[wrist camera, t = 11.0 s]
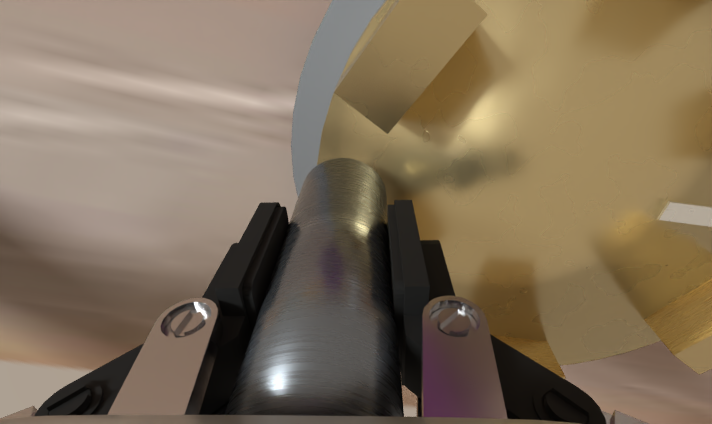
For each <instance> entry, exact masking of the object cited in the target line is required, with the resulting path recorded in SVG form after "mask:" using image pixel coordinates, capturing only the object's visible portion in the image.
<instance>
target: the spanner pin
mask: <svg viewBox="0 0 712 424" xmlns="http://www.w3.org/2000/svg"><path fill="white" fill-rule="evenodd" d="M224 415H292V416H384V417H404V413H403V400H402V387H401V374H400V362H399V349H398V336H397V327H396V322H395V319H394V309H393V295H392V281H391V268H390V254H389V240H388V226H387V196H386V188H385V185H384V183H383V181H382V179H381V177H380V176H379V174H378V173H377V172H376V171H375V170H374V169H373V168H372V167H370V166H369V165H367V164H365V163H363V162H361V161H359V160H356V159H351V158H334V159H330V160H326V161H324V162H322V163H320V164H318V165H317V166H316V167H314V168H313V169H312V170H311V171H310V172H309V173H308V175H307V176H306V178H305V180H304V183H303V185H302V188H301V191H300V194H299V197H298V200H297V203H296V206H295V209H294V212H293V215H292V218H291V221H290V224H289V226H288V229H287V232H286V235H285V238H284V241H283V244H282V247H281V250H280V253H279V256H278V259H277V262H276V265H275V268H274V270H273V273H272V276H271V279H270V282H269V285H268V288H267V291H266V294H265V297H264V300H263V303H262V306H261V309H260V312H259V314H258V317H257V320H256V323H255V326H254V329H253V332H252V335H251V338H250V341H249V344H248V347H247V350H246V353H245V356H244V358H243V361H242V364H241V367H240V370H239V373H238V376H237V379H236V382H235V385H234V388H233V391H232V394H231V397H230V400H229V402H228V405H227V408H226V411H225V414H224Z"/></svg>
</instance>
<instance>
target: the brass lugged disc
mask: <svg viewBox="0 0 712 424" xmlns="http://www.w3.org/2000/svg"><path fill="white" fill-rule="evenodd" d="M334 158H351V159H356V160H359V161H361V162H363V163H365V164H367V165H369V166H370V167H372V168H373V169H374V170H375V171H376V172H377V173H378V174H379V176H380V177H381V179H382V181H383V183H384V185H385V188H386V196H387V206H388V205H394V200H412V202H413V207H414V212H415V217H416V222H417V227H418V231H419V236H420V240H439V241H440V243H441V247H442V250H443V254H444V257H445V261H446V264H447V268H448V271H449V275H450V278H451V282H452V285H453V289H454V293H455V296H457V297H462V298H465V299H467V300H470V301H471V302H473V303H474V304H476V305H477V306H479V308H480V309H481V310H482V311H483V312H484V314H485V316H486V319H487V322H488V327H489V332H490V334H491V335H493V336H494V337H496V338H497V339H499V340H501V341H502V342H504V343H506V344H507V345H509V346H511V347H512V348H514V349H516V350H517V351H519V352H520V353H522V354H524V355H525V356H527V357H529V358H530V359H532V360H534V361H535V362H537V363H539V364H540V365H542V366H544V367H545V368H547V369H548V370H550V371H552V372H553V373H555V374H557V375H558V376H560V377H562V378H563V379H565V378H566V377H565V375H564V373H563V371H562V369H561V367H560V365H569V364H575V363H581V362H587V361H593V360H598V359H602V358H606V357H610V356H614V355H618V354H622V353H626V352H629V351H632V350H635V349H638V348H641V347H644V346H647V345H650V344H653V343H656V342H658V341H662V342H663V343H664V344H665V345H666V347H667V348H668V349H669V350H670V351H671V352H672V354H673V355H674V356H676V357H677V358H678V359H679V360H681V361H682V362H683V363H685V364H686V365H687V366H688V367H690V368H691V369H692V370H694V371H695V372H696V373H698V374H699V375H700V374H702V373H704V372H706V371H708V370H710V369H712V0H385V1H384V3H383V4H382V5H381V7H380V8H379V9H378V10H377V12H376V13H375V14H374V15H373V17H372V18H371V20H370V21H369V23H368V25H367V26H366V28H365V30H364V31H363V33H362V35H361V36H360V38H359V40H358V41H357V43H356V44H355V46H354V48H353V49H352V52H351V54H350V56H349V58H348V61H347V63H346V65H345V67H344V70H343V72H342V74H341V76H340V79H339V81H338V83H337V86H336V88H335V91H334V93H333V96H332V99H331V103H330V106H329V109H328V113H327V116H326V120H325V123H324V126H323V130H322V135H321V141H320V148H319V155H318V161H317V165H318V164H320V163H322V162H324V161H326V160H330V159H334Z"/></svg>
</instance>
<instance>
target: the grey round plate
mask: <svg viewBox="0 0 712 424" xmlns="http://www.w3.org/2000/svg"><path fill="white" fill-rule="evenodd" d="M384 1H385V0H333V1H332V2H331V4H330V6H329V8H328V10H327V12H326V14H325V16H324V19H323V21H322V23H321V25H320V27H319V29H318V31H317V33H316V35H315V37H314V39H313V41H312V44H311V47H310V50H309V53H308V56H307V59H306V62H305V65H304V68H303V71H302V74H301V77H300V81H299V86H298V91H297V96H296V101H295V106H294V111H293V124H292V141H291V150H292V163H293V176H294V181H295V186H296V190H297V195H298V197H299V194H300V191H301V188H302V185H303V183H304V180H305V178H306V176H307V175H308V173H309V172H310V171H311V170H312V169H313V168H314V167H316V166H317V161H318V155H319V148H320V141H321V135H322V130H323V126H324V123H325V120H326V116H327V113H328V109H329V106H330V103H331V99H332V96H333V93H334V91H335V88H336V86H337V83H338V81H339V79H340V76H341V74H342V72H343V70H344V67H345V65H346V63H347V61H348V58H349V56H350V54H351V52H352V49H353V48H354V46H355V44H356V43H357V41H358V40H359V38H360V36H361V35H362V33H363V31H364V30H365V28H366V26H367V25H368V23H369V21H370V20H371V18H372V17H373V15H374V14H375V13H376V12H377V10H378V9H379V8H380V7H381V5H382V4H383V3H384Z"/></svg>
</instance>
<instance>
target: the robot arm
mask: <svg viewBox="0 0 712 424" xmlns="http://www.w3.org/2000/svg"><path fill="white" fill-rule="evenodd" d="M288 226H289V222H288V216H287V210H286V207H280V204H279V203H278V202H277V203H260V204H259V206H258V208H257V210H256V212H255V214H254V215H253V217H252V219H251V221H250V223H249V225H248V227H247V228H246V230H245V232H244V234H243V236H242V238H241V240H240V241H239V243H234V244H233V245H232V246H231V247H230V249H229V251H228V253H227V254H226V256H225V258H224V260H223V261H222V263H221V265H220V267H219V269H218V270H217V272H216V274H215V276H214V278H213V279H212V281H211V283H210V285H209V286H208V288H207V290H206V292H205V294H204V295H203V297H202V298H191V299H186V300H183V301H181V302H178V303H176V304H174V305H172V306H171V307H169V308H168V309H166V310H165V311H164V312H163V313H162V314H161V315H160V316H159V317H158V319H157V320H156V322H155V324H154V325H153V327H152V329H151V331H150V333H149V335H148V337H147V339H146V341H145V343H144V344H142V345H140V346H138V347H137V348H135V349H133V350H131V351H129V352H127V353H125V354H124V355H122V356H120V357H118V358H116V359H114V360H113V361H111V362H109V363H107V364H105V365H103V366H101V367H100V368H98V369H96V370H94V371H92V372H90V373H89V374H87V375H85V376H83V377H81V378H80V379H78V380H76V381H74V382H72V383H70V384H68V385H67V386H65V387H63V388H62V389H60V390H59V391H57V392H56V393H54V394H53V395H52V396H51V397H50V398H49V399H48V400H46V401H45V402H44V403H43V405H42V406H41V407H40V408H39V410H37V409H36V408H35V407H34V406H32V407H29V408H27V409H24V410H21V411H19V412H16V413H13V414H11V415H8V416H5V417H3V418H0V424H648V423H646V422H643V421H641V420H638V419H636V418H633V417H631V416H628V415H626V414H623V413H621V412H619V411H616V410H615V411H614V413H613V415H611V414H609V413H606V412H604V411H601V409H600V407H599V406H598V405H597V404H596V403H595V401H594V400H593V399H592V398H591V397H590V396H589V395H588V394H586V393H585V392H584V391H582V390H581V389H579V388H578V387H576V386H575V385H573V384H572V383H570V382H568V381H567V380H565V379H563V378H562V377H560V376H558V375H557V374H555V373H553V372H552V371H550V370H548V369H547V368H545V367H544V366H542V365H540V364H539V363H537V362H535V361H534V360H532V359H530V358H529V357H527V356H525V355H524V354H522V353H520V352H519V351H517V350H516V349H514V348H512V347H511V346H509V345H507V344H506V343H504V342H502V341H501V340H499V339H497V338H496V337H494V336H493V335H491V334H490V332H489V327H488V322H487V319H486V316H485V314H484V312H483V311H482V310H481V309H480V308H479V306H477V305H476V304H474V303H473V302H471V301H470V300H467V299H465V298H462V297H457V296H455V293H454V289H453V285H452V282H451V278H450V275H449V271H448V268H447V264H446V261H445V257H444V254H443V250H442V247H441V243H440V241H439V240H420V236H419V231H418V227H417V222H416V217H415V212H414V207H413V202H412V200H394V205H388V206H387V226H388V240H389V254H390V268H391V281H392V295H393V309H394V319H395V322H396V327H397V336H398V349H399V362H400V372H401V382H402V385H405V386H406V387H407V388H408V389H409V390H410V391H412V392H413V393H414V394H415V395H416V396H417V417H384V416H292V415H224V414H225V411H226V408H227V405H228V402H229V400H230V397H231V394H232V391H233V388H234V385H235V382H236V379H237V376H238V373H239V370H240V367H241V364H242V361H243V358H244V356H245V353H246V350H247V347H248V344H249V341H250V338H251V335H252V332H253V329H254V326H255V323H256V320H257V317H258V314H259V312H260V309H261V306H262V303H263V300H264V297H265V294H266V291H267V288H268V285H269V282H270V279H271V276H272V273H273V270H274V268H275V265H276V262H277V259H278V256H279V253H280V250H281V247H282V244H283V241H284V238H285V235H286V232H287V229H288Z"/></svg>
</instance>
